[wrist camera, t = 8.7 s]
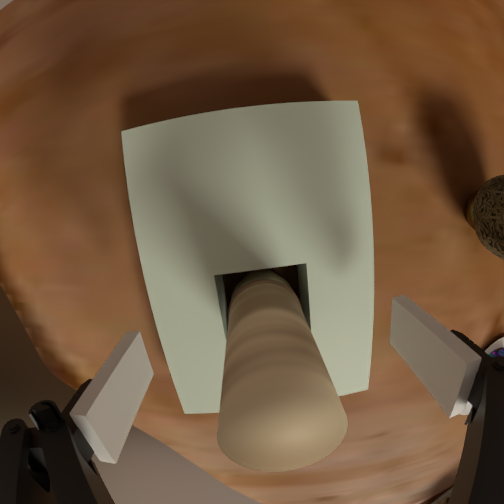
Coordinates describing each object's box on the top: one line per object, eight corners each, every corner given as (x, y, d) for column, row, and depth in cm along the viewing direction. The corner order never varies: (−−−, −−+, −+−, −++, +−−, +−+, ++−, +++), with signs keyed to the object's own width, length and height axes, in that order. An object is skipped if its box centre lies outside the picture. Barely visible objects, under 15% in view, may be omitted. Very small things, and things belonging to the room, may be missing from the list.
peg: (226, 264, 21) (200, 397, 7) (287, 257, 21) (354, 376, 7) (235, 319, 22) (228, 476, 8) (293, 312, 22) (344, 460, 8)
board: (143, 139, 19) (121, 131, 15) (338, 114, 19) (357, 100, 15) (192, 383, 23) (184, 413, 20) (352, 362, 23) (367, 389, 19)
